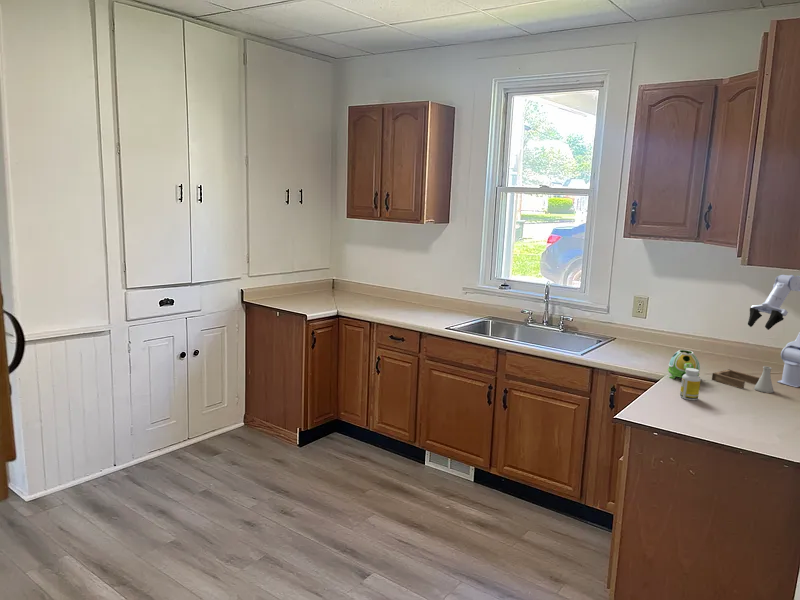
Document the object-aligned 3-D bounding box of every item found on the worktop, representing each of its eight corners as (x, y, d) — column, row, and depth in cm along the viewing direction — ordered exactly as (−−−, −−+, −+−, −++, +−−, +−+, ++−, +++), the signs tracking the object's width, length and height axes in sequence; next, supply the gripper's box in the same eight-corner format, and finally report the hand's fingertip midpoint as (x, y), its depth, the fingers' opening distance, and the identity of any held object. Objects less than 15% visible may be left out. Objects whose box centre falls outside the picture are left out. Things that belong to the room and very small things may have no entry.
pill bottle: (701, 400, 229) (705, 372, 227) (686, 401, 228) (690, 372, 226) (690, 395, 236) (694, 367, 234) (676, 395, 235) (679, 367, 232)
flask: (755, 386, 250) (758, 363, 248) (775, 390, 246) (778, 367, 244) (752, 390, 245) (755, 367, 243) (772, 394, 240) (776, 371, 238)
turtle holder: (670, 383, 249) (674, 356, 247) (665, 371, 266) (668, 346, 264) (703, 387, 246) (706, 360, 244) (695, 375, 263) (699, 349, 261)
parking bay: (728, 375, 264) (729, 369, 264) (758, 384, 253) (759, 377, 253) (711, 379, 257) (712, 373, 257) (742, 388, 246) (743, 381, 246)
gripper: (753, 292, 245) (736, 318, 243) (787, 296, 232) (769, 323, 230) (762, 302, 248) (745, 328, 246) (796, 306, 234) (778, 334, 232)
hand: (758, 326), depth 238 cm, fingers open, 7 cm apart
